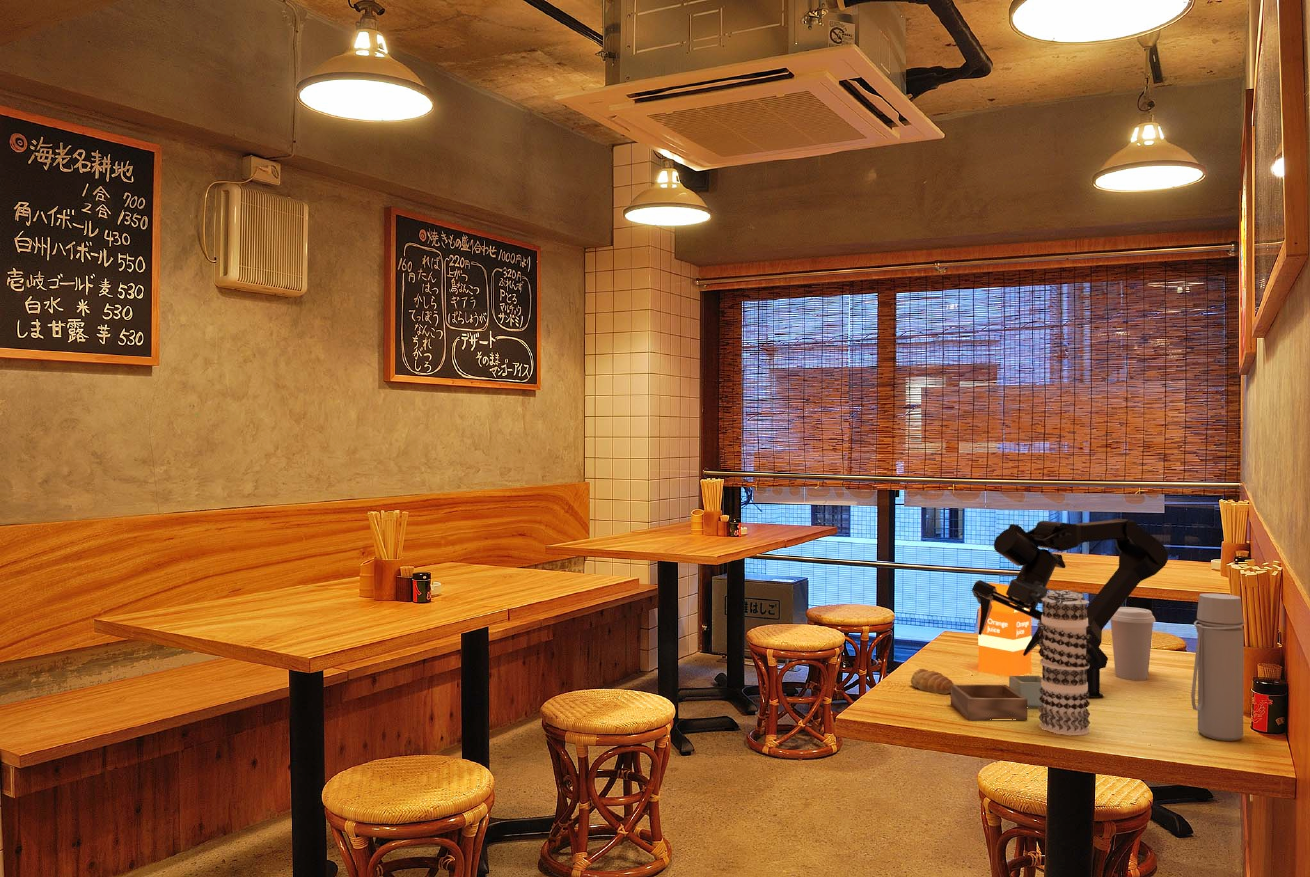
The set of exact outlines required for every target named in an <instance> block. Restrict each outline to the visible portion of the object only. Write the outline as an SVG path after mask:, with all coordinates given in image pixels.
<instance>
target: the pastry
mask: <svg viewBox="0 0 1310 877" xmlns="http://www.w3.org/2000/svg"><path fill="white" fill-rule="evenodd" d="M910 683H911V685H912V686H913V688H914V687H915V689H918V690H920V691H922V692H927V691H928V692H927V693H932V694H936V693H938V694H937V695H939V694H943V695H946V694H951V685H955V683H954V682H953V681H952V680H951V679H950V678H948V677H947V676H945V675H944V674H942V673H940V672H937V671H934V670H931V671H929V670H928V669H925V668H919V669H917V670H916V671H914V673H913V674H912V677H911V678H910Z"/></svg>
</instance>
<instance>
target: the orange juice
mask: <svg viewBox="0 0 1310 877" xmlns="http://www.w3.org/2000/svg"><path fill="white" fill-rule="evenodd" d="M987 583H988V584H991V585H993V586H995V587H996V589H997V592H998V593H1000V594H1002V595H1005V596H1007V597H1008V595H1006V592H1007V589H1008V587H1009V584H1003V583H995V582H987ZM991 604H992V607H993V608H992V610H991V613H990V615H989V618H988V621H987V623H986V626H985V629H984V631H983V633H982V634H981V636H980V635H979V633H978V639H977V640H978V644H977V645H978V672H980V671H982V672H981V673H985V672H986V674H989V673H993V674H992V675H994V674H998V675H997V676H999V675H1005V676H1007V677H1006V678H1008V677H1009V676H1020V675H1024V674H1027V673H1031V674H1032V650H1031V651H1030V652H1029V653H1028V654H1027V655H1026V656H1023V653H1024V651H1025V649H1026V647H1027V645H1028V644H1029V642H1030V640H1031V639H1032V637H1033V636H1032V617H1030V616H1027V615H1025V614H1023V613H1021V612H1018V611H1016V610H1014V609H1012V608H1009V607H1007V606H1005V605H1003V604H1000V603H998V602H996V601H994V602H991ZM1010 604H1012V603H1010ZM1012 605H1014V604H1012ZM1016 606H1017V605H1016ZM1022 609H1023V608H1022ZM1024 610H1027V611H1030V610H1028V609H1026V608H1024ZM980 617H981V604H980V606H979V607H978V627H979V626H980ZM1024 676H1025V675H1024Z"/></svg>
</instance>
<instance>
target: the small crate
mask: <svg viewBox="0 0 1310 877" xmlns="http://www.w3.org/2000/svg"><path fill="white" fill-rule="evenodd" d="M1041 679H1042V676H1040V675H1024V676H1009V678H1008V681H1009V682H1008V683H1009V684H1008V687H1010V688H1011V689H1013V690H1014V691H1016V692H1017V693H1019V694H1020V695H1022V696H1023V697H1025V698H1026V699H1027V707H1028V708H1027V709H1039V707H1040V706H1041V705H1042V704H1043V703H1042V702H1041V701H1040V700H1039V698H1040V697H1041V696H1042V694H1041V693H1040V691H1039V689H1040V688H1041Z"/></svg>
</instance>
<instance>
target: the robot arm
mask: <svg viewBox="0 0 1310 877" xmlns="http://www.w3.org/2000/svg"><path fill="white" fill-rule="evenodd" d="M1109 540H1110V541H1111V540H1114V544H1115V547H1116V549H1117V550H1118V551H1119V552H1120V553H1119V556H1118V568H1117V569H1116V571H1115V572H1114V573H1113V574H1112V576H1111V577H1110V578H1109V579H1108V580H1107V582H1106V583H1105V584H1104V586H1102V588H1101V589H1100V591H1099V592H1098V593H1097V594H1096V595H1095V597H1094V598H1093V599H1092V600H1091V601H1090V602H1089V603H1088V604H1087V618H1088V624H1090V625H1092V626H1093V627H1092V628H1091V629H1089V628H1088V629H1087V628H1086V634H1087V633H1088V634H1089V635H1090V636H1091V637H1092V639H1090V640H1088V641H1087V640H1086V643H1089V644H1090V645H1091V646H1092V647H1091V648H1089V649H1087V650H1086V653H1087V654H1088V655H1090V656H1091V658H1090V659H1089V660H1086V662H1087V663H1088V664H1090V665H1089V668H1088V669H1087V682H1088V691H1087V692H1088V693H1089V694H1090V696H1089V698H1104V694H1103V693H1101V691H1100V690H1101V688H1100V687H1101V686H1100V685H1101V684H1100V683H1101V681H1100V680H1101V678H1100V677H1101V676H1100V675H1101V669H1104V668H1105V669H1106V667H1107V663H1108V660H1109V658H1108V656H1107V655H1106V654H1105V653H1104V651H1103V650H1102V649H1101V648H1100V646H1101V644H1102V638H1103V637H1102V635H1103V629H1104V628H1105V626H1107V624H1108V623H1109V621H1111V620H1110V619H1111V618H1112V617H1113V615H1114V614H1115V613H1116V612H1117V610H1118V609H1119V608H1120V607H1122V605H1123V604H1124V603H1125V602H1126V600H1127V599H1128V597H1130V595H1131V594H1132V593H1133V591H1134V590H1135V589H1136V588H1137V586H1138V585H1139V584H1140V583H1142V581H1145V580H1147V579H1148V578H1151V577H1153V576H1155V575H1156V574H1158V573H1159V572H1160V571H1161V570H1162V569H1163V568H1165V566H1166V565H1167V564H1168V560H1169V554H1168V550H1167V548H1166V546H1165V545H1164V544H1163V543H1161V542H1159V540H1158V539H1157V538H1156V537H1154V536H1153V535H1152V534H1150V533H1149V532H1147V531H1146V530H1144V529H1142V528H1141V527H1140V526H1139V524H1138V523H1137V522H1136V521H1134V520H1132V519H1124V518H1123V519H1122V518H1113V519H1110V520H1102V521H1101V520H1100V521H1099V520H1098V521H1090V522H1089V521H1088V522H1081V523H1080V522H1079V523H1077V522H1076V523H1068V522H1059V521H1053V520H1052V521H1051V520H1041V521H1038V522H1037V523H1036V526H1035V527H1034V528H1032V529H1030V530H1029V531H1026V530H1024V528H1022V526H1020V525H1018V524H1013V523H1011V524H1010V525H1009V527H1008V528H1007V529H1004V530H1003V531H1001V533H999V535H997V536H996V538H995V540H994V543H993V548H994V551H995V552H996V553H998V554H999V555H1001V556H1002V557H1004V558H1005V559H1007V560H1008V561H1009V562H1011V563H1012V564H1013V565H1015V566H1018V567H1019V566H1020V567H1021V568H1020V570H1019V573H1018V575H1017V577H1016V578H1013V579H1011V580H1010V583H1009V584H1008V585H1009V587H1008V589H1007V592H1006V595H1008V597H1007V596H1005V595H1002V594H1000V593H998V592H997V589H996V587H995V586H993V585H991V584H988V583H989V582H986V581H984V580H982V579H979V580H976V581H975V583H974V585H973V586H972V588H971V591H972V595H973V597H974V598H975V599H976V600H977V603H978V604H980V605H981V617H980V626H979V625H978V634H979V635H980V636H981V634H982V633H983V631H984V629H985V626H986V623H987V621H988V618H989V615H990V613H991V610H992V608H993V607H992V604H991V602H994V601H996V602H998V603H1000V604H1003V605H1005V606H1007V607H1009V608H1012V609H1014V610H1016V611H1018V612H1021V613H1023V614H1025V615H1027V616H1030V617H1031V619H1035V621H1039V620H1041V616H1042V614H1043V611H1041V610H1040V609H1037V607H1038V604H1043V600H1041V599H1042V598H1045V597H1046V595H1047V593H1048V592H1049V588H1047V586H1048V584H1049V581H1050V579H1051V577H1052V575H1053V573H1054V570H1055V569H1056V568H1060V569H1065V568H1066V567H1067V566H1066V563H1065V561H1064V558H1063V555H1062V554H1058V553H1053V552H1051V551H1050V550H1054V551H1055V550H1056V551H1063V552H1065V551H1069V550H1072V549H1074V548H1077V547H1079V546H1080V545H1081V544H1084V543H1091V542H1098V541H1099V542H1100V541H1109ZM1010 603H1012V604H1014V605H1012V604H1010ZM1016 605H1017V606H1016ZM1022 608H1023V609H1022ZM1024 608H1026V609H1028V610H1030V611H1027V610H1024ZM1039 629H1040V628H1039V627H1038V626H1037V629H1036V630H1035V632H1034V634H1033V636H1032V639H1031V640H1030V642H1029V644H1028V645H1027V647H1026V649H1025V651H1024V653H1023V656H1026V655H1027V654H1028V653H1029V652H1030V651H1031V652H1032V651H1033V649H1035V647H1037V646H1039V645H1038V643H1039V640H1040V639H1042V638H1041V637H1040V636H1039V634H1038V631H1039Z"/></svg>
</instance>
